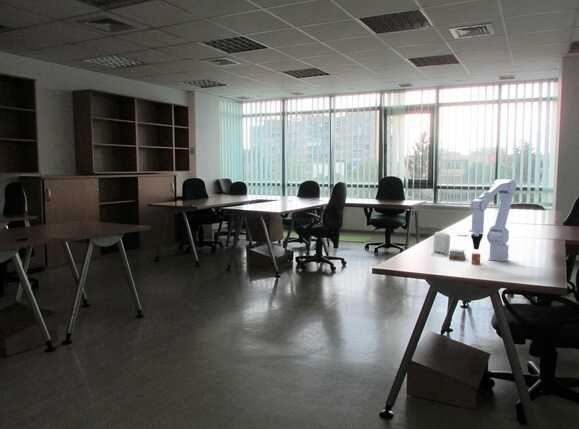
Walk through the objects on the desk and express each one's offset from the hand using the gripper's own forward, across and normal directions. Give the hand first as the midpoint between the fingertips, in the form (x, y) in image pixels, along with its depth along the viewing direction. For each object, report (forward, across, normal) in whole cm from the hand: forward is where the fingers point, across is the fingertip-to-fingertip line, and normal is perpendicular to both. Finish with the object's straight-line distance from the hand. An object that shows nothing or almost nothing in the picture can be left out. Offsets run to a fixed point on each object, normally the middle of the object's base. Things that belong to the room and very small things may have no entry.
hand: (476, 248), depth 251 cm
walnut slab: (+8, -10, -10) cm, 16 cm away
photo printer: (+8, -26, -20) cm, 34 cm away
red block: (+8, 0, 0) cm, 8 cm away
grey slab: (+6, -10, -10) cm, 15 cm away
